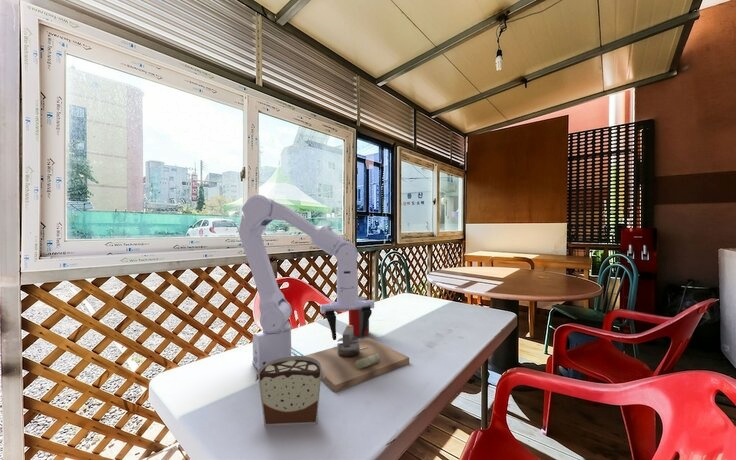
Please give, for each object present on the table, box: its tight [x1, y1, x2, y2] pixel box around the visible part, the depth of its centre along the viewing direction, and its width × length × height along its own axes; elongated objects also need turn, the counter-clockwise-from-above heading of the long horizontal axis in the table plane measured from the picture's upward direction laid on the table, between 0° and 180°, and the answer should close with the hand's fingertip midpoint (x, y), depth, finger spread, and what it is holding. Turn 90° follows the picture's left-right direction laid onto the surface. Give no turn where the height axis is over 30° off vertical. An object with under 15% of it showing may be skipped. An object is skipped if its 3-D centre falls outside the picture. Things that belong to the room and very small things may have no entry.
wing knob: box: [336, 324, 360, 357], centre depth 79 cm, size 7×6×6 cm
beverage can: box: [348, 295, 370, 337], centre depth 98 cm, size 7×7×12 cm
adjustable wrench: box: [291, 346, 305, 356], centre depth 86 cm, size 14×1×5 cm
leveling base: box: [304, 337, 410, 393], centre depth 76 cm, size 22×18×4 cm
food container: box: [254, 355, 325, 427], centre depth 55 cm, size 12×6×10 cm, turn 92°
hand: (348, 336), depth 79 cm, fingers open, 7 cm apart
